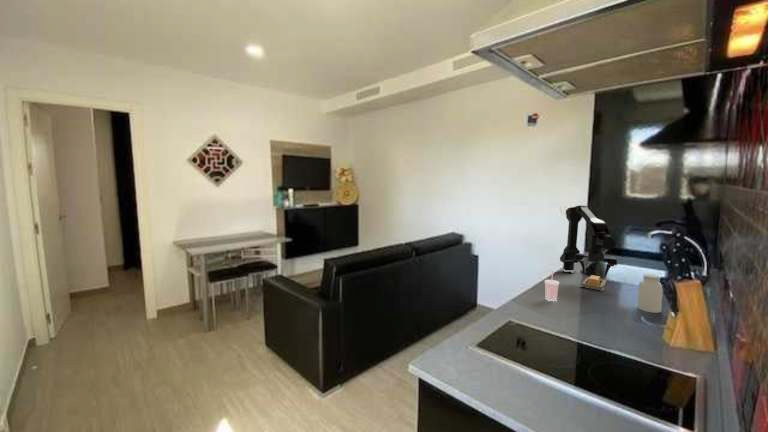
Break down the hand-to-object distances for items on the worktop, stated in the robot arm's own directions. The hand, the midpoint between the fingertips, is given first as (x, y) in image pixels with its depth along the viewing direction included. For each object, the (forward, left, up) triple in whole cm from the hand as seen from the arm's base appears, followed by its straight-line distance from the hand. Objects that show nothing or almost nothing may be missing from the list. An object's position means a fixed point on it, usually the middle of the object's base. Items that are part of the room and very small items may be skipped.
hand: (594, 274), depth 173 cm
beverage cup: (+38, -12, -6) cm, 40 cm away
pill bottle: (+23, +23, -6) cm, 33 cm away
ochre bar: (0, 0, -5) cm, 5 cm away
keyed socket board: (0, 0, -6) cm, 6 cm away
